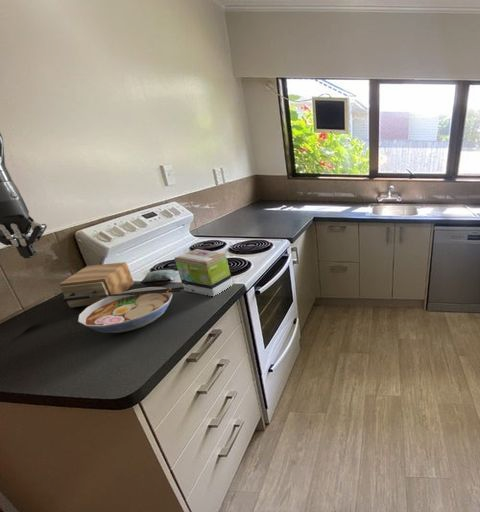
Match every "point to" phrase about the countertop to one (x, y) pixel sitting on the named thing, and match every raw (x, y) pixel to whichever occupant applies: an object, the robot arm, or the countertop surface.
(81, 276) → the cabinet
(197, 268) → the tea box
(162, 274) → the packaged food
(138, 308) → the ramen bowl
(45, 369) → the countertop surface
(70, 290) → the drawer
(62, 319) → the countertop surface
